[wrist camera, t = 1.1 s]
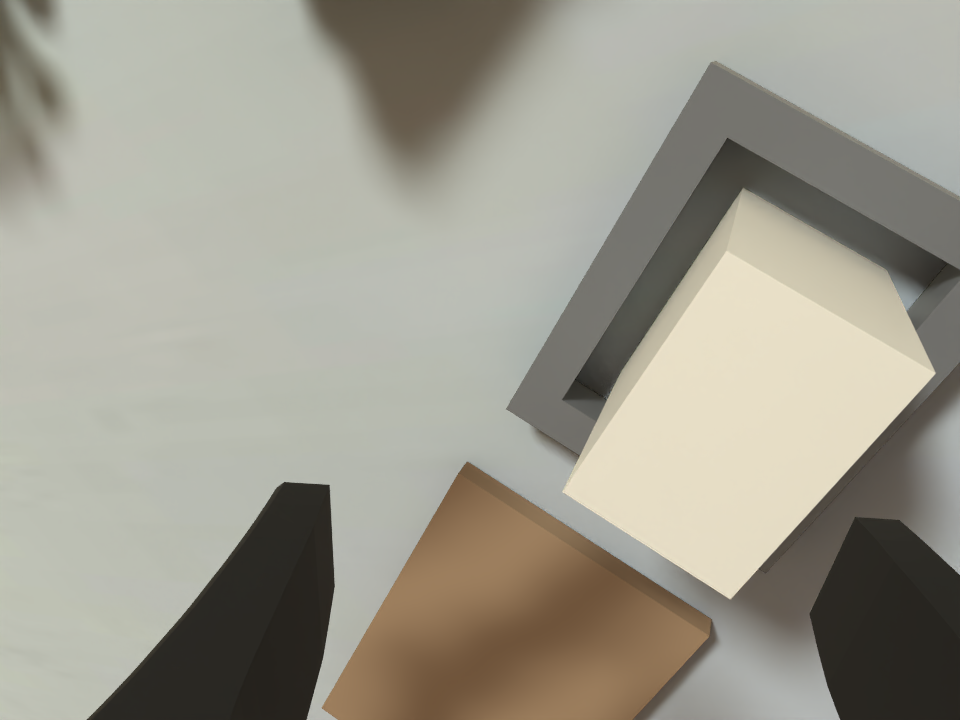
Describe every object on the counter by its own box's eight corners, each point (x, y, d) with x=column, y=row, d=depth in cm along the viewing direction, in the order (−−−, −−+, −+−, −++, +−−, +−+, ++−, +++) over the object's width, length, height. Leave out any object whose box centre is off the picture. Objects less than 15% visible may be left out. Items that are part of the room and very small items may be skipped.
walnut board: (711, 619, 24) (709, 636, 24) (522, 826, 30) (516, 845, 30) (467, 461, 25) (458, 473, 25) (331, 693, 31) (321, 708, 31)
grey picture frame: (1038, 240, 18) (1057, 255, 17) (766, 543, 23) (765, 573, 22) (715, 61, 19) (711, 61, 18) (521, 388, 24) (505, 409, 22)
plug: (886, 269, 19) (935, 373, 13) (744, 446, 22) (730, 599, 16) (743, 186, 20) (726, 251, 14) (621, 371, 23) (562, 491, 16)
